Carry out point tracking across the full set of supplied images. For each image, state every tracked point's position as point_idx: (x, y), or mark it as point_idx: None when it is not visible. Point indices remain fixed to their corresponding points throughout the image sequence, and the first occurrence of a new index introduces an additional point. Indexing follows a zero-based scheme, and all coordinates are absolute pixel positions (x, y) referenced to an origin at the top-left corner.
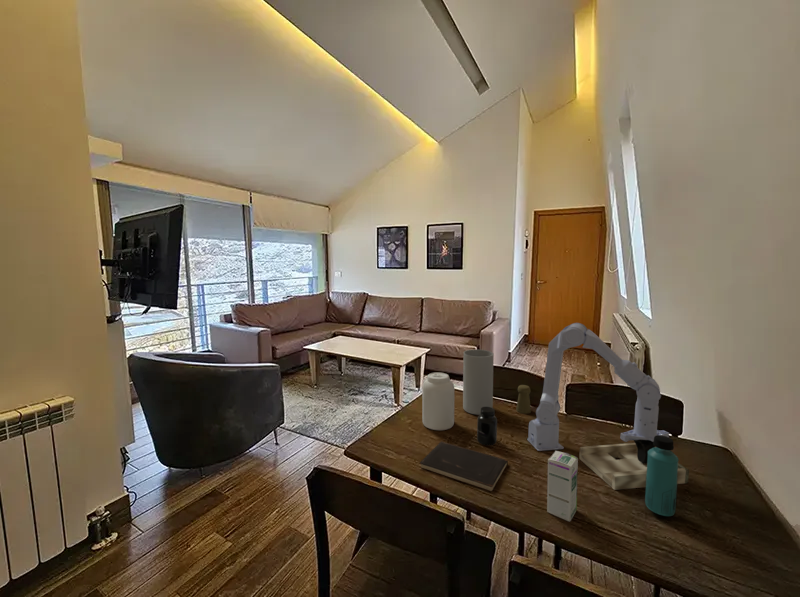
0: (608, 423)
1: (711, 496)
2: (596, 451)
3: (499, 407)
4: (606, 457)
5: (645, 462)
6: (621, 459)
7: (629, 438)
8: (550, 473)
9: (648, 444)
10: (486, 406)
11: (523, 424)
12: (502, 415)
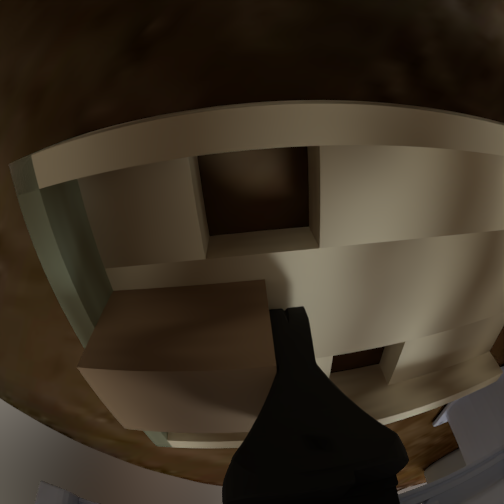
0: (190, 479)
1: (42, 15)
2: (442, 380)
3: (407, 475)
4: (426, 353)
5: (284, 312)
6: (376, 347)
7: (489, 471)
8: None
9: (358, 474)
10: (462, 463)
11: (428, 448)
12: (431, 458)
